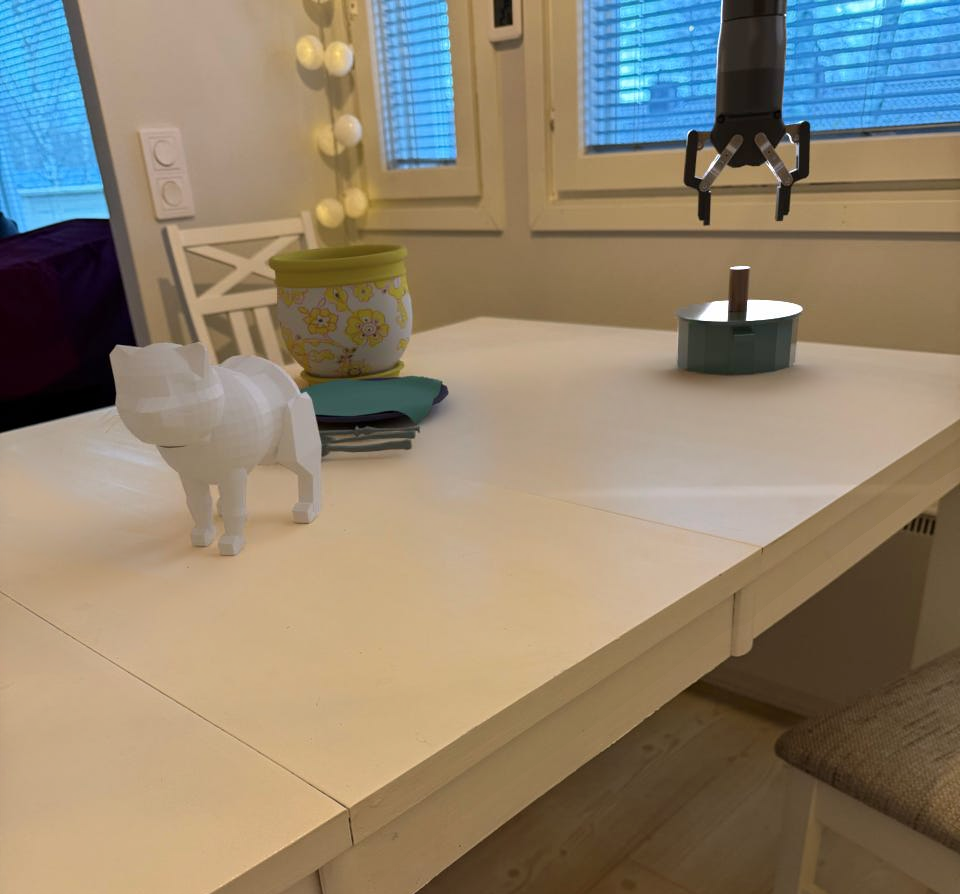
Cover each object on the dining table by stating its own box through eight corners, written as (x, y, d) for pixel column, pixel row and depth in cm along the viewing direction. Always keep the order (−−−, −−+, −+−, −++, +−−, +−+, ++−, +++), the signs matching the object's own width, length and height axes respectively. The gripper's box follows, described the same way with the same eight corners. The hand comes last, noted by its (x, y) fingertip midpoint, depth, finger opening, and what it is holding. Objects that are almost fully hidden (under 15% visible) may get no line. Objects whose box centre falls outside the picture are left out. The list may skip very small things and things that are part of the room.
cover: (792, 306, 125) (796, 257, 122) (811, 327, 112) (816, 272, 109) (672, 311, 128) (673, 263, 125) (676, 333, 114) (677, 279, 111)
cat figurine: (263, 478, 93) (231, 299, 85) (362, 481, 90) (338, 296, 82) (108, 583, 72) (47, 358, 64) (231, 592, 69) (182, 357, 61)
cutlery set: (457, 388, 122) (455, 370, 121) (430, 457, 95) (428, 435, 94) (306, 396, 123) (303, 378, 122) (238, 466, 97) (234, 444, 96)
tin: (782, 348, 130) (786, 299, 127) (804, 382, 112) (810, 325, 109) (674, 353, 132) (675, 304, 129) (679, 386, 115) (681, 331, 112)
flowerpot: (330, 402, 119) (310, 263, 112) (265, 383, 132) (244, 257, 125) (444, 375, 129) (434, 246, 121) (373, 360, 142) (360, 242, 134)
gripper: (687, 71, 105) (683, 229, 112) (822, 59, 103) (808, 221, 110) (685, 74, 111) (681, 224, 119) (811, 63, 109) (799, 216, 117)
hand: (742, 223), depth 114 cm, fingers open, 8 cm apart
